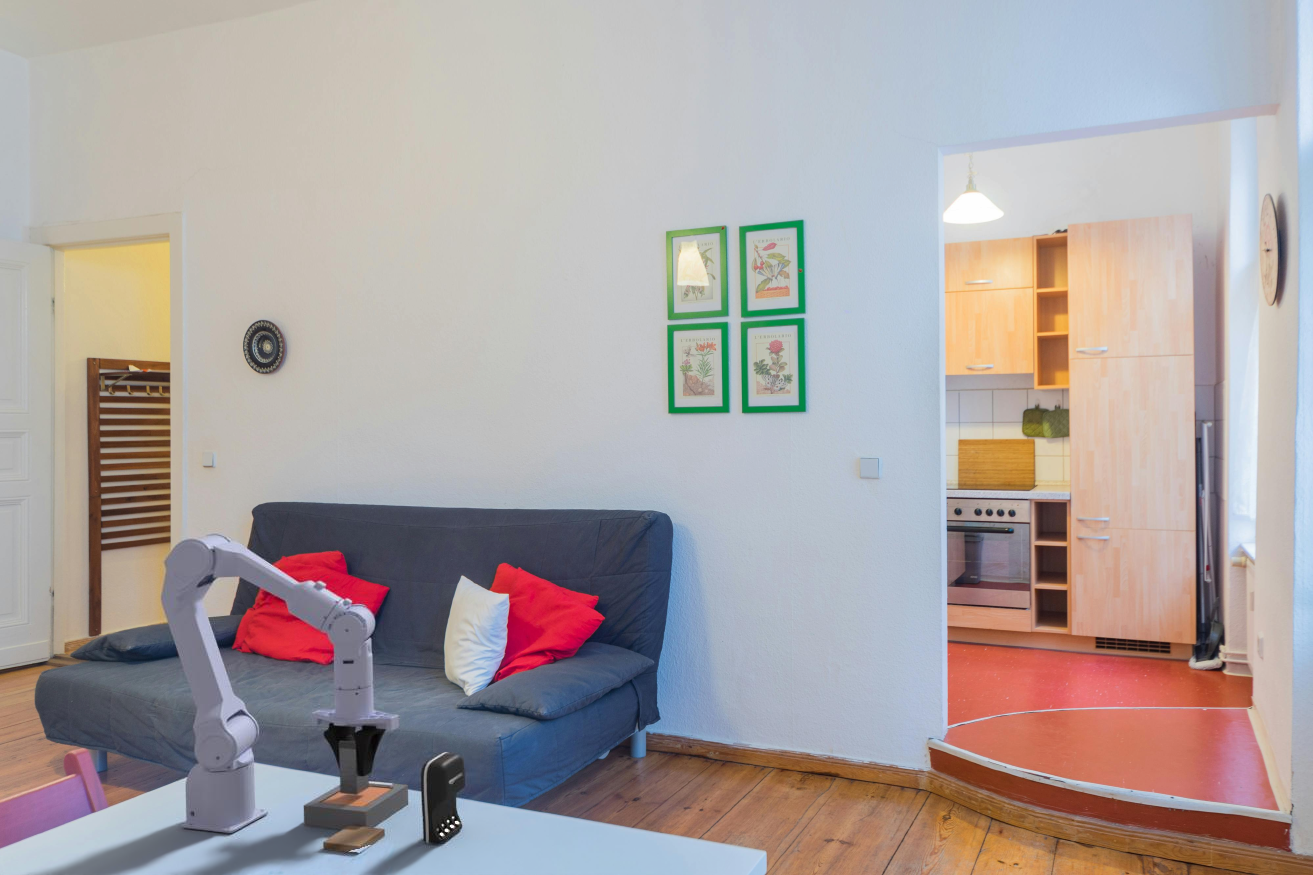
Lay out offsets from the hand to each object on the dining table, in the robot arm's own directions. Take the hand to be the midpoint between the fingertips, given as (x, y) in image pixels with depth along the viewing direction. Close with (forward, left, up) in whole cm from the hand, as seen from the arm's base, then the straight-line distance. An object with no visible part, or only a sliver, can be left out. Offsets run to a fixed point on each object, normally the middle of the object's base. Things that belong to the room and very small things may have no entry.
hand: (356, 773), depth 142 cm
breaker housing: (0, 0, -6) cm, 6 cm away
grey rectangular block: (0, 0, -3) cm, 3 cm away
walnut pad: (+6, -9, -6) cm, 13 cm away
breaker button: (0, 0, -6) cm, 6 cm away
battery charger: (+18, -4, -7) cm, 20 cm away
